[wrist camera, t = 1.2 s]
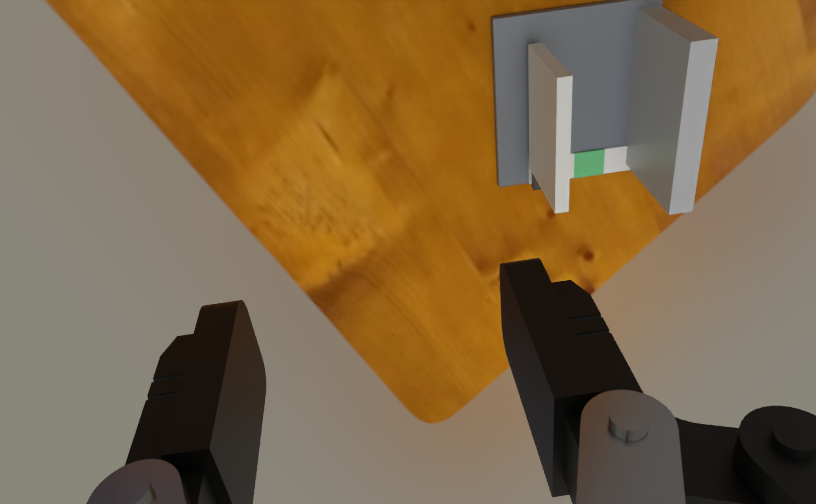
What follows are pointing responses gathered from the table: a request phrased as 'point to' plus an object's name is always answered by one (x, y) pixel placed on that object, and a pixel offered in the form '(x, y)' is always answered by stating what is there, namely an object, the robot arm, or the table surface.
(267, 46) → the table surface
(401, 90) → the table surface
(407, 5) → the table surface
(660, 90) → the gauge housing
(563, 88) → the panel
